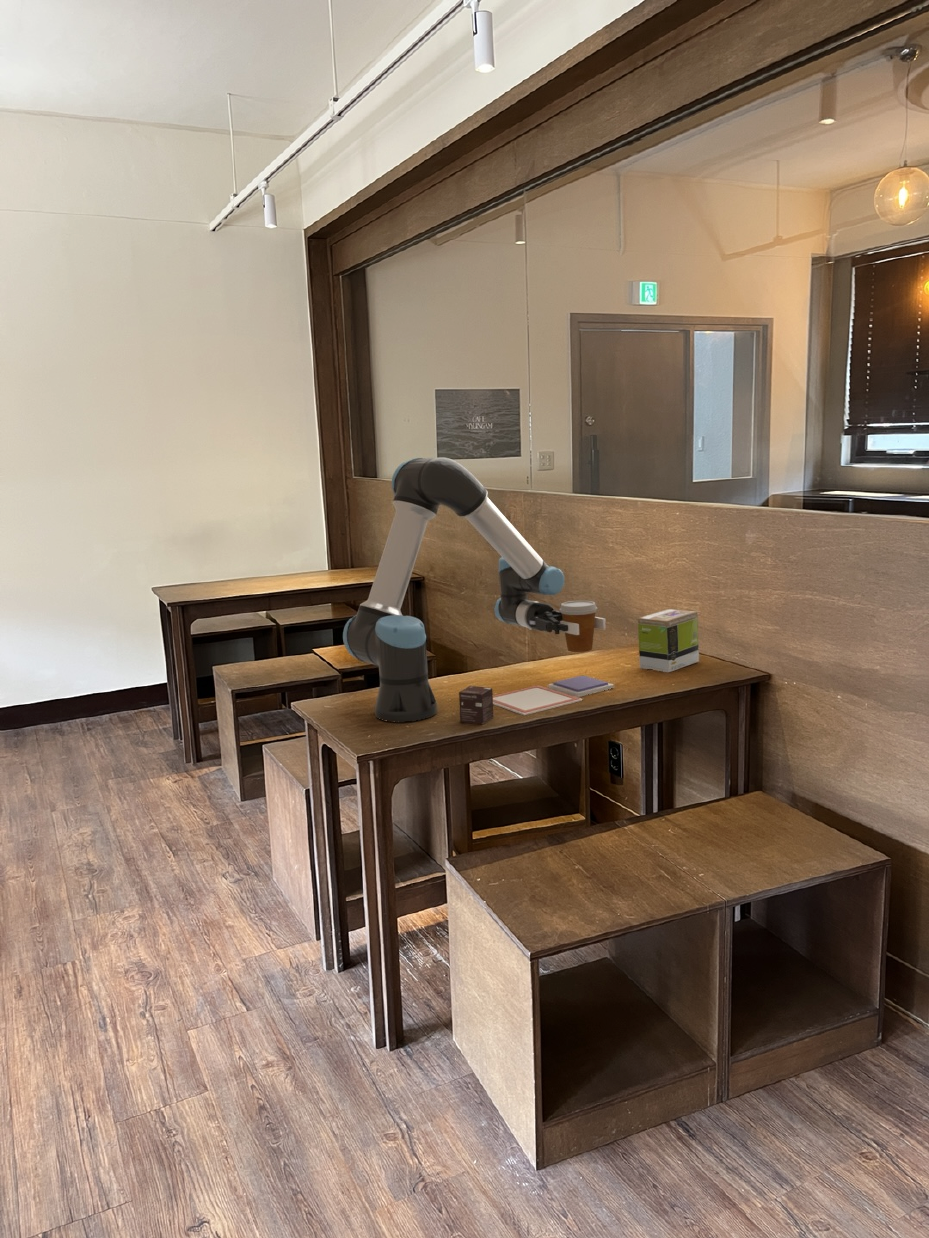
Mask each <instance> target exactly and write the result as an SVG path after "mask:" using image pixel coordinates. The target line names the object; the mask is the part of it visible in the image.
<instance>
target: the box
mask: <svg viewBox="0 0 929 1238" xmlns="http://www.w3.org/2000/svg"><path fill="white" fill-rule="evenodd" d="M493 696H494V695H493V687H486V686H485V687H484V686H476V685H469V686H468V687H466V688H464V689H462V690H460V691H459V692H458V699H459V700H458V701H459V703H458V704H459V719H460V720H459V722H460V723H466V724H475V725H484V724H485V723H487V722H488V721H490V720H491V718H492V719H493V718H494V704H493Z"/></svg>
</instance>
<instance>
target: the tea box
mask: <svg viewBox="0 0 929 1238" xmlns="http://www.w3.org/2000/svg"><path fill="white" fill-rule="evenodd" d="M698 620H699V619H698V611H692V610H691V611H690V610H681V609H672V608H671V609H669V608H667V609H664V610H660V611H657V612H654V613H650V614H648V615H644V616H641V617H638V618H637V628H638V629H637V631H638V655H639V656H638V658H639V660H638V661H639V668H640V669H642V668H643V669H642V670H647V669H653V670H658V671H657V672H659V671H663V672H662V673H671V672H673V671H677V670H680V669H683V668H684V667H685V668H686V667H687V666H690V665H694V664H696V663H698V662H699V661H700V651H699V650H700V649H699V621H698ZM653 670H652V671H653Z"/></svg>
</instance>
